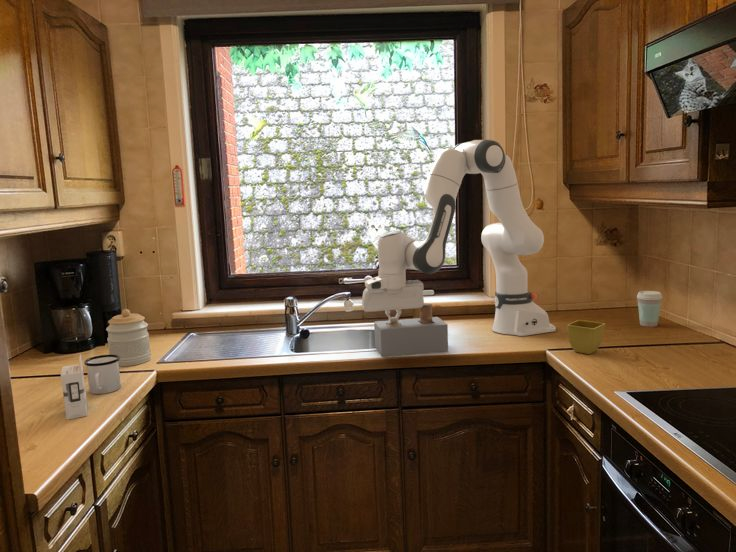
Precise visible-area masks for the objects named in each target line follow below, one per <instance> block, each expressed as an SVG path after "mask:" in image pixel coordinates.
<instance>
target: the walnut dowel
mask: <svg viewBox="0 0 736 552" xmlns="http://www.w3.org/2000/svg"><path fill="white" fill-rule="evenodd" d="M432 317H433V304H432V303H424V305H423V307H422V308H420V323H421V324H425V323H432Z"/></svg>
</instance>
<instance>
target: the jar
mask: <svg viewBox="0 0 736 552" xmlns="http://www.w3.org/2000/svg"><path fill="white" fill-rule="evenodd" d="M145 318H146V317H145V316H143V315H141V314H139V313H131V311H130V309H128V308H124V309H123V310H122V311H121V314H117V315H115V316H113V317H111V319H109V320H108V321H107V323H108V324H109V325H108V326H107V327H106V329H105V331H107V334H108V335H107V336H108V337H107V344H108V345H107V346H108V355H118V356H120V360H119V361H118V363H119V367H132V366H136V365H140V364H145V363H146V362H148V361H150V360H151V355H152V353H151V347H150V346H151V345H150V337H149V336H150V333H149V332H148V326H149V323H147V322H146V321H144V320H145Z"/></svg>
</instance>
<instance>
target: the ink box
mask: <svg viewBox="0 0 736 552" xmlns="http://www.w3.org/2000/svg"><path fill="white" fill-rule="evenodd" d="M81 353H82V352H81ZM81 353H79V358H78V359H79V361H78V362H79V364H71V365H65V366H62V367H61V371H60V379H61V380H60V381H61V387H62V395H63V402H64V403H63V404H64V411H65V418H66V419H65V420H67V421H68V420H72V419H78V418H83V417H84V418H85V417H87V416H88V402H87V400H88V399H87V394H86V393H87V392H86V384H85V383H86V382H85V376H84V375H85V374H84V368H83V367H84V366H83V361H82V354H81Z"/></svg>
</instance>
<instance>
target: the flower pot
mask: <svg viewBox="0 0 736 552" xmlns="http://www.w3.org/2000/svg"><path fill="white" fill-rule="evenodd" d="M566 326H567V334H568V341H569V343H570V347H571V348H572V349H573V351H574V352H576V353H579V354H585V355H586V354H587V355H591V354H592V353H595V352H597V351H598V349H599V348H600V346H601V345H602V341H603V338H604V334H605V329H606V328H605V326H606V323H605V322H600V321H591V320H584V319H583V320H582V319H577V320H575V321H573V322H570V323H568V324H567V325H566Z"/></svg>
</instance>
